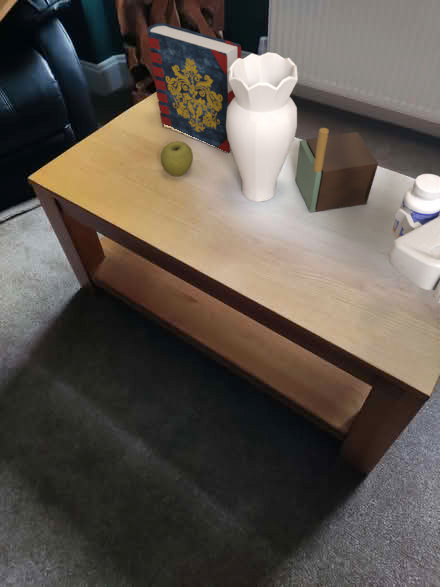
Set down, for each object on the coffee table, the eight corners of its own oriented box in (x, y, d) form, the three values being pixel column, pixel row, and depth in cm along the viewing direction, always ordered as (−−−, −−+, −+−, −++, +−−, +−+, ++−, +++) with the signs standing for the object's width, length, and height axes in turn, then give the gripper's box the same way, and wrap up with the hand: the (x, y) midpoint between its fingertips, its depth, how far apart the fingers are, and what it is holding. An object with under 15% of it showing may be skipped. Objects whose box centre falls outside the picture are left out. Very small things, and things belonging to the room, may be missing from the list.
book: (156, 125, 122) (139, 30, 103) (172, 114, 126) (159, 20, 106) (227, 154, 112) (224, 55, 93) (243, 141, 116) (242, 43, 96)
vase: (275, 166, 108) (284, 43, 85) (299, 202, 100) (316, 77, 77) (220, 179, 106) (213, 57, 83) (240, 218, 98) (239, 93, 75)
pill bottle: (435, 239, 66) (461, 188, 58) (405, 250, 65) (427, 199, 57) (413, 217, 69) (434, 166, 61) (384, 227, 68) (402, 176, 60)
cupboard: (348, 172, 106) (357, 131, 97) (366, 204, 99) (378, 163, 90) (300, 179, 105) (306, 139, 96) (316, 211, 98) (323, 171, 89)
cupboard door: (301, 178, 105) (311, 100, 89) (316, 211, 98) (330, 132, 82) (293, 179, 105) (302, 101, 89) (308, 212, 97) (321, 133, 82)
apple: (200, 171, 109) (197, 146, 103) (174, 185, 106) (170, 160, 100) (182, 158, 112) (179, 133, 107) (157, 171, 109) (152, 146, 104)
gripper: (563, 214, 56) (475, 160, 63) (449, 280, 50) (367, 212, 58) (537, 247, 61) (458, 193, 68) (431, 311, 55) (358, 245, 63)
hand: (416, 202), depth 63 cm, fingers closed on pill bottle, 5 cm apart
